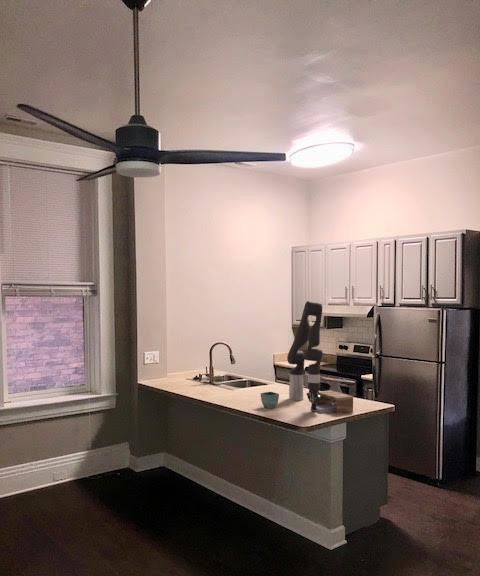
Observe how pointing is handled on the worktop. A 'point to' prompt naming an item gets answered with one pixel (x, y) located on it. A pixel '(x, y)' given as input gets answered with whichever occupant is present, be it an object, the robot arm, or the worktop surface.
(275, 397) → the flower pot
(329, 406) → the panel
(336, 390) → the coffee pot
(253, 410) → the worktop surface
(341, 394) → the brown cardboard box
